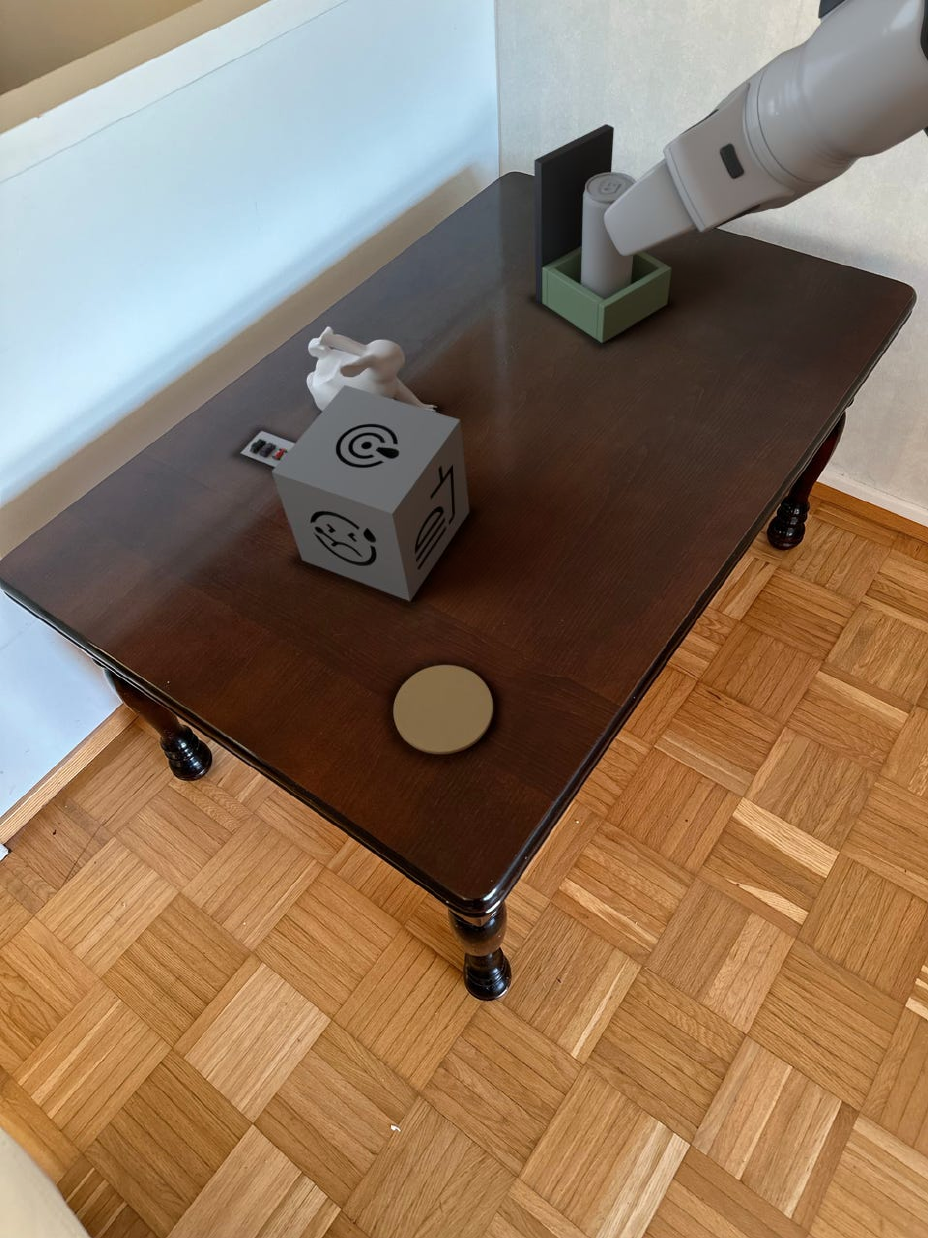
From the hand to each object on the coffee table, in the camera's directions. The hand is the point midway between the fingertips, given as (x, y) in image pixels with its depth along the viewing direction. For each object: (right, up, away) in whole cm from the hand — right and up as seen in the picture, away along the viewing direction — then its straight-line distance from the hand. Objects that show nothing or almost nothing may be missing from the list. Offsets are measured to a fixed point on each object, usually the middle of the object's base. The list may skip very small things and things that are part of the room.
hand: (664, 211), depth 77 cm
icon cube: (-23, -28, -3) cm, 36 cm away
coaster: (-18, -41, -13) cm, 47 cm away
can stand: (-3, -4, +12) cm, 13 cm away
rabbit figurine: (-26, -16, +6) cm, 31 cm away
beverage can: (-3, -4, +13) cm, 13 cm away
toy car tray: (-32, -20, +3) cm, 38 cm away
